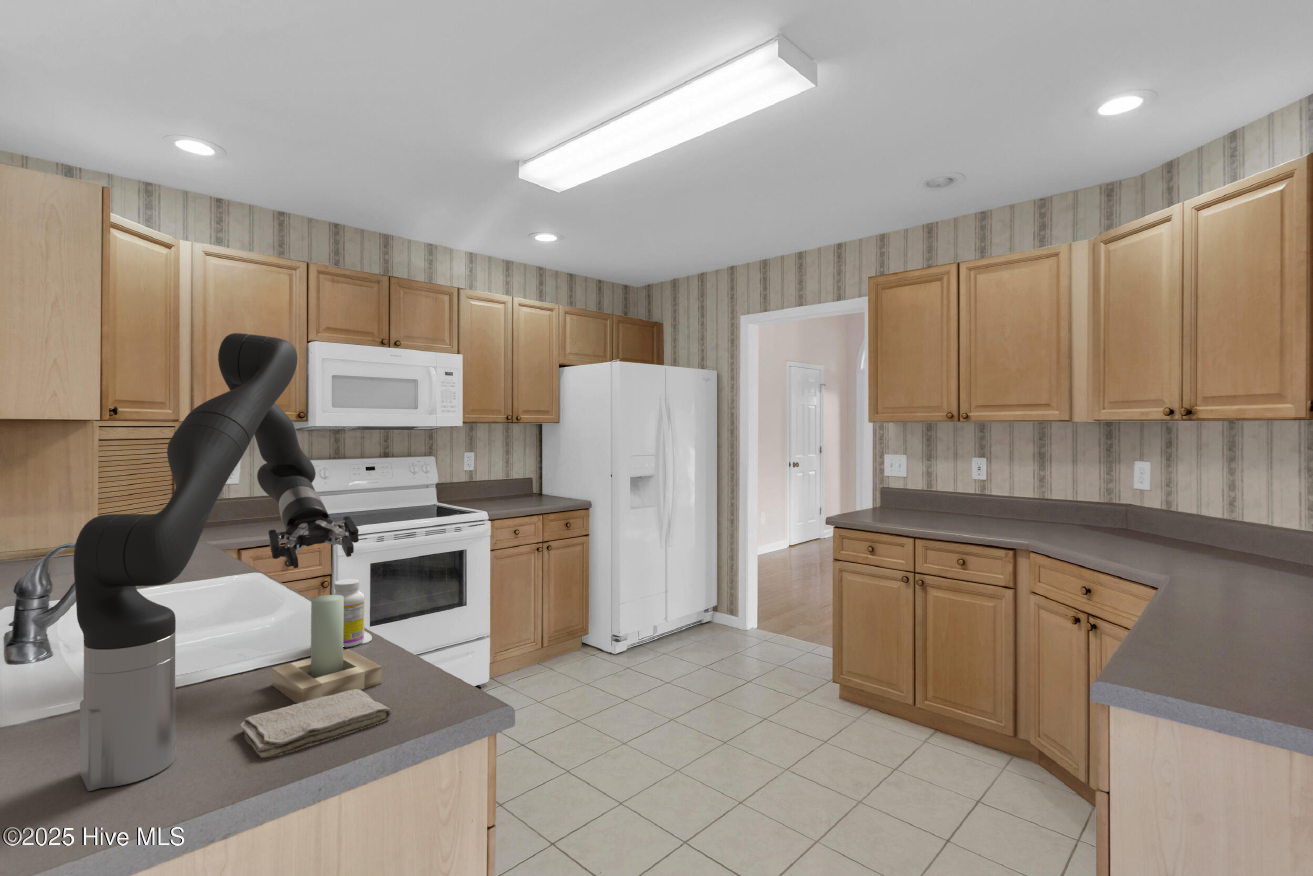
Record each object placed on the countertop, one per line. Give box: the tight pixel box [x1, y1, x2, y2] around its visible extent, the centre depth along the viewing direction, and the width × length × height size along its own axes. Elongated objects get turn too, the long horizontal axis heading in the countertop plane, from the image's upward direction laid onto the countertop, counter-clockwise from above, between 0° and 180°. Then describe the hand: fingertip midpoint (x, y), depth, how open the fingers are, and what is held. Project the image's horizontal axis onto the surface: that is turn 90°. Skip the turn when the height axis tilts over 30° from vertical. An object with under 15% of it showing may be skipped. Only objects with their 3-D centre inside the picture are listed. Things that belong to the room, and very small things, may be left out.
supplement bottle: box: [332, 578, 366, 648], centre depth 132 cm, size 7×7×13 cm
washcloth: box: [239, 689, 393, 759], centre depth 96 cm, size 12×18×3 cm, turn 137°
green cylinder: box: [310, 594, 344, 678], centre depth 111 cm, size 5×5×15 cm
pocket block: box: [271, 648, 383, 704], centre depth 111 cm, size 13×13×3 cm
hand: (323, 558), depth 113 cm, fingers open, 8 cm apart
